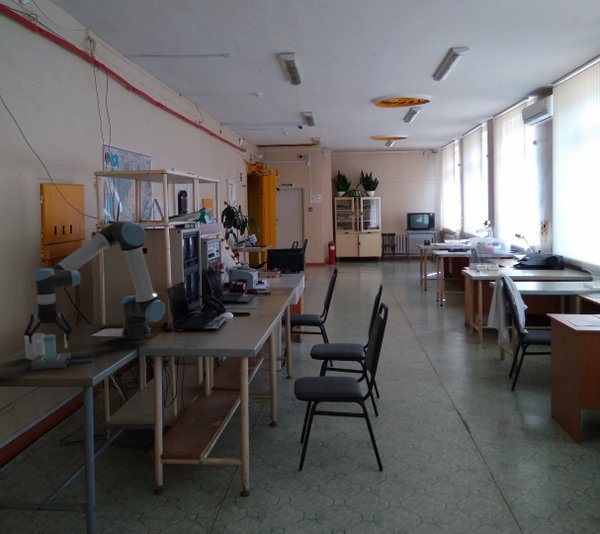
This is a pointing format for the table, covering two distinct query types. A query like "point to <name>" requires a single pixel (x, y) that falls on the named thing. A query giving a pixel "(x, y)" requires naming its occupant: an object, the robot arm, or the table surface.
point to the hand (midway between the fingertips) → (50, 348)
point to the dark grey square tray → (82, 359)
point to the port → (50, 362)
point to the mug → (38, 344)
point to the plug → (50, 346)
